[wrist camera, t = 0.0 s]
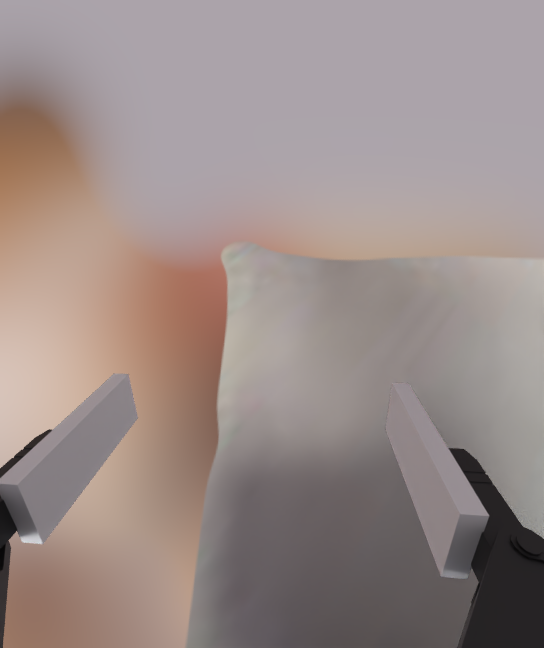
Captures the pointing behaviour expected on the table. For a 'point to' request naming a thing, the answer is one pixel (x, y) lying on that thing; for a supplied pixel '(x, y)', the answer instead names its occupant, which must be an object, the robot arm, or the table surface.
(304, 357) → the table surface
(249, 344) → the table surface
